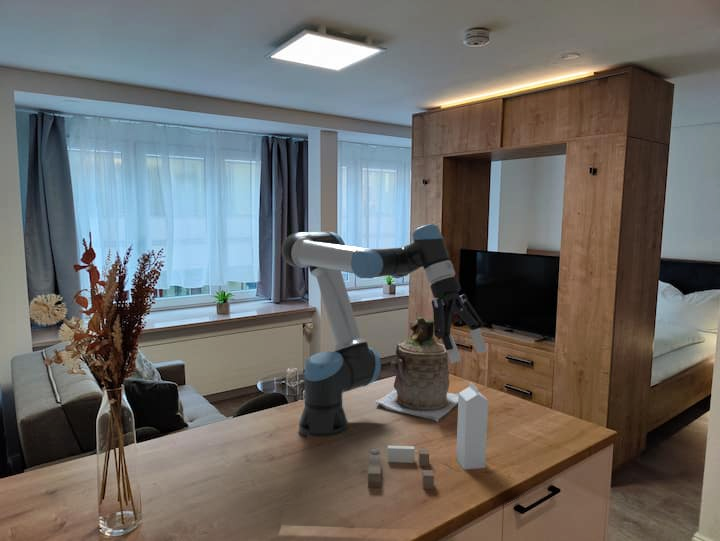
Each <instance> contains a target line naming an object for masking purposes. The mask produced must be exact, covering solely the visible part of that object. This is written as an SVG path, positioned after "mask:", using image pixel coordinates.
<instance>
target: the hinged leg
mask: <svg viewBox="0 0 720 541" xmlns="http://www.w3.org/2000/svg"><path fill="white" fill-rule="evenodd" d="M381 465H382V462H381V452H380V449H377V448H372V449H370V450H369V452H368V472H367V473H368V474H367V488H378V489H380V488H381V487H382V486H381V481H382V478H381V477H382V473H381V472H382V467H381Z"/></svg>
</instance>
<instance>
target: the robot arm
mask: <svg viewBox="0 0 720 541" xmlns="http://www.w3.org/2000/svg"><path fill="white" fill-rule="evenodd" d="M412 240H413V241H411V242H410V243H408V244H406V245H404V246H402V247H391V248H389V247H388V248H378V249H377V248H369V247H360V246H358V247H357V246H351V245H346V244H345V242H344V240H343V238H342V237H341V236H340V235H339V234H337V233H335V232H334V231H333V232H332V231H327V230H325V231H324V230H323V231H307V232H306V231H302V232H301V231H300V232H295V233H294V232H293V233H292V234H290V235H288V236H287V237H286V238H285V239H284V241H283V242H282V244H281V250H280V251H281V256H282V259H283V260H284V262H286V264H288V265H290V266H292V267H296V268H309V272H310V275H312V276H313V277H315V278H316V280H317V283H318V287H319V291H320V294H321V298H322V301H323V305H324V308H325V311H326V315H327V318H328V322H329V326H330V329H331V333H332V335H333V340H334V344H335V347H334V348H333V351H326V352H325V351H322V352H317V353H314V354H312V355H310V356H309V357H308V358H307V359H306V360H305V363H304V371H303V376H304V407H303V409H302V410H303V411H302V414H301V416H300V419H299V424H298V432H299V434H300V435H301V436H303V437H305V438H307V437H308V435H309V436H313V437H332V436H337V435H339V434H342V433H343V432H345V431H346V430H347V429H348V427H349V423H348V422H349V421H348V418H347V415H346V412H345V409H344V405H343V394H344V393H346V392H349V391H352V390H356V389H359V388H362V387H366V386H368V385H370V384H373V383H375V381H376V380H378V378H379V375H380V373H381V365H382V364H381V363H382V362H381V358H380V355H379V353H378V352H377V351H375V349H374V348H372V347H369V345H368V341H367V340H365V339H363V338H362V337H361V334H360V330H359V327H358V323H357V321H356V318H355V314H354V313H355V312H354V311H353V307H352V304H351V300H350V297H349V294H348V291H347V287H346V283H345V281H344V277H343V273H342V272H345V273H349V274H353V275H355V276H356V277H358V278H359V279H373V278H380V277H381V278H382V277H388V276H389V277H393V278H395V279H401V278H403V277H407V276H408V275H410V274H412V273H413V272H416V271H417V270H419V269H420V268H423V270H424V273H425V277H426V279H427V282H428V284H430V286H429V288H430V290H431V293H432V294H431V295H432V297H433V298H434V299H433V300H431V306H432V310H433V311H432V312H433V322H434V331H433V335H434V337H435V338H437V340H442V343H443V345H444V346H445V349H446V351H447V354H448V357H447V358H448V359H449V362H450V364H455V363H458V362H461V361H462V358H461V355H460V353H459V349H458V347H457V344H456V341H455V339H454V335H451V328H452V320H453V315H456V316H458V317H460V319H461V320H462V322H464V324H465V325H466V326H467V327H468V328H469V329H470V330H469V333H470V336H471V339H472V341H473V345H474V347H475V351H476V352H477V353H476V354H477V355H481V354H484V353H487V352H488V348H487V346H486V343H485V340H484V338H483V335H482V331H481V330H480V329H481V328H483V326H484V325H483V321H482V320H481V318H480V316H479V314H478V313H477V311H476V310H475V308H474V307H473V305H472V304H471V302H470V301H469V299H468V296H467V294H466V293H464V294H461V295H459V291H461V289H462V287H461V285H460V281H459V279H458V277H457V276H455V275H456V271H455V268H454V264H453V263H452V260H451V258H450V256H449V252H448V249H447V245H446V243H445V240H444V236H443V235H442V233H441V231H440V228H439V225H438V224H434V223H429V224H425V225H421V226H420V227H417V228H416V229H414V231H412Z"/></svg>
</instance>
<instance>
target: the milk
mask: <svg viewBox="0 0 720 541" xmlns="http://www.w3.org/2000/svg"><path fill="white" fill-rule="evenodd" d="M458 394H459V398H458V404H457V405H458V406H457V425H456V426H457V428H456V433H457V434H456V451H455V452H456V454H455V456H456V457H455V458H456V461H458V463H459V464H460V466H461V467H462V469H463V470H474V469H475V470H477V469H485V468H486V458H487V457H486V455H487V434H488V416H489V415H488V412H489V411H488V410H489V408H488V407H489V399H487V397H485V396H484V394H482V393H481V392H480V391H479V388H478V386H477V387H476V386H475V384H473V383H472V382H471V381H469V383H468V387H466V388H464V389H463V390H461V391H459V392H458Z"/></svg>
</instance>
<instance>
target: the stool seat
mask: <svg viewBox="0 0 720 541" xmlns="http://www.w3.org/2000/svg"><path fill="white" fill-rule="evenodd" d="M387 463H407V464H408V463H409V464H410V463H411V464H414V463H415V446H414V445H413V446H412V445H387ZM418 465H419V467H429V466H430V451H429V449H426V448H425V449H424V448H419V449H418ZM421 472H422V473H421V474H422V475H421V484H422V489H423V490H424V489H425V490H426V489H427V490H429V489H430V490H434V486H435V485H434V484H435V483H434V482H435V475H434V470H433V469H429V470H427V469H422V471H421Z"/></svg>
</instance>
